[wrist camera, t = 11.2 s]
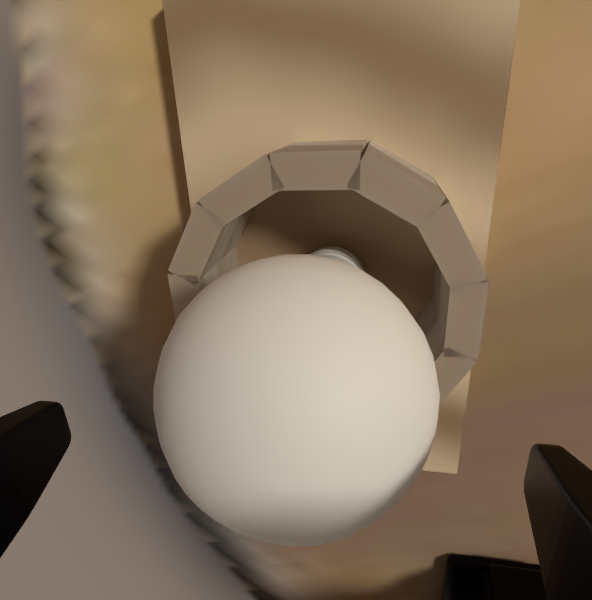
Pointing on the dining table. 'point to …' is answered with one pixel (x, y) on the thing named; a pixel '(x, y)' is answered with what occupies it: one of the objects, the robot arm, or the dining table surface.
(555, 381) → the dining table surface
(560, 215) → the dining table surface
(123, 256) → the dining table surface
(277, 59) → the lamp base
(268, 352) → the lightbulb
